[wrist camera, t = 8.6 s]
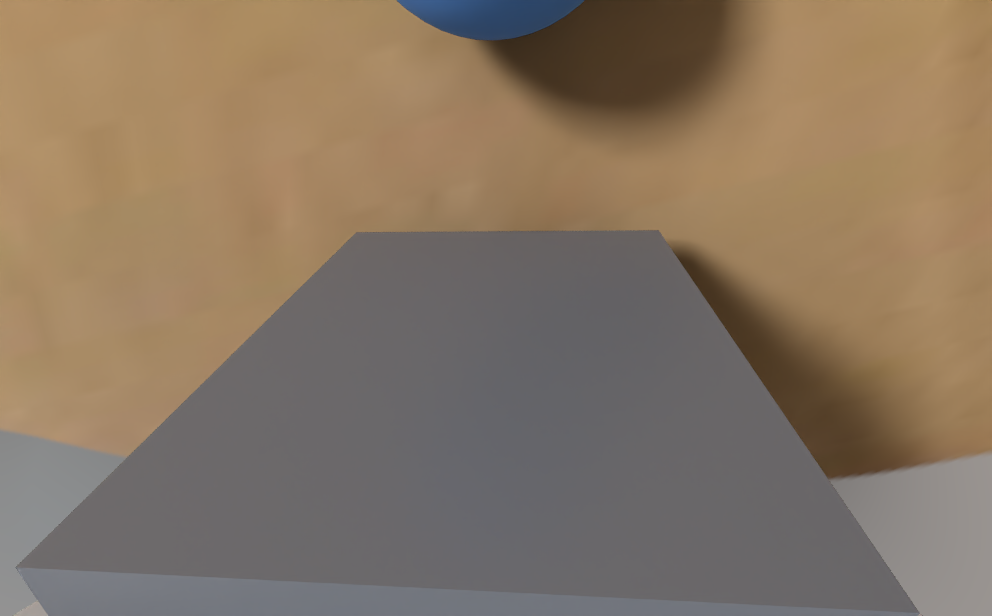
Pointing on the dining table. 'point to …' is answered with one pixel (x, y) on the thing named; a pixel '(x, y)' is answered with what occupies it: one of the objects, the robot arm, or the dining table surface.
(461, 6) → the ball
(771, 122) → the dining table surface
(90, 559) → the balanced grey cube
